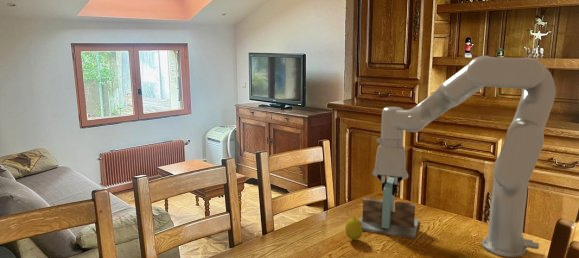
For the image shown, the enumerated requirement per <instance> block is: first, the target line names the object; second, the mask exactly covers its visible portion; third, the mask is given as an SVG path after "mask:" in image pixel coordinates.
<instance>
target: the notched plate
mask: <svg viewBox="0 0 579 258" xmlns="http://www.w3.org/2000/svg"><path fill="white" fill-rule="evenodd" d="M393 182H394V176H388V177H387V179H386V184H385V186H384V188H383V191H382V200H383V207H382V227H381V228H388V229H389V226H390V220H391V212H394V211H395V195H396V193H395V194H394V195H392V187H393Z"/></svg>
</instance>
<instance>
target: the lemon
mask: <svg viewBox="0 0 579 258" xmlns="http://www.w3.org/2000/svg"><path fill="white" fill-rule="evenodd" d="M359 220H360V219H359V218H357V217H352V218H350V219H348V220H347V222H346V224H345V234H346V236H347V237H348V238H349V239H351V240H352V241H355V240H357V239H360V238H361V237H362V234H363V231H362V224H361V222H360V221H359Z"/></svg>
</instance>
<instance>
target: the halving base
mask: <svg viewBox="0 0 579 258" xmlns="http://www.w3.org/2000/svg"><path fill="white" fill-rule="evenodd" d="M382 207H383V199H381V198H380V199H377V198H371V197H364V198H363V199H362V214H361V217H360V219H358V220H359V221H360V222H361V224H362V232H367V233H368V232H369V233H374V234H383V235H390V236H395V237H401V238H402V237H403V238H410V239H416V237H417V231H418V227H419V226H418V224H419V218H416V203H413V202H405V201H404V202H403V201H394V212H391V220H390V226H389V229H388V228H381V227H382Z"/></svg>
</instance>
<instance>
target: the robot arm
mask: <svg viewBox="0 0 579 258" xmlns="http://www.w3.org/2000/svg"><path fill="white" fill-rule="evenodd" d="M485 87H488V88H491V87H492V88H502V89H503V88H505V89H516V90H517V89H519V90H521V96H520V99H519V102H518V104H517V105H518V106H517V108H516V111H515V114H514V116H513V118H512V121H511V124H510V125H509V127H508V129H507V131H506V136H505V139H504V142H503V145H502V147H501V149H500V152H499V155H498V156H497V158H496V159H495V162H494V166H493V172H492V173H493V174H492V175H493V182H492V192H491V203H490V212H489V213H490V214H489V224H488V234H487V237H485V238H483V239H482V240H481V245H482V247H483V248H484V249H485V250H486V251H488V252H491V253H492V254H494V255H498V256H502V257H507V258H518V257H523V256H524V255H525V254H527V248H529V249H535V250H539V248H540V247H539V246H540V245H539V244H540V243H539V242H534V240H533V239H529V238H527V239H526V238H525V237H523V232H524V231H523V230H524V223H525V214H526V213H525V212H526V206H527V196H528V185H529V182H530V179H531V177H532V175H533V172H534V169H535V168H536V165H537V163H538V160H539V157H540V155H541V152H542V150H543V148H544V143H545V136H544V132H545V128H546V125H547V122H548V120H549V117H550V113H551V111H552V108H553V105H554V101H555V97H556V84H555V81H554V77H553V75H552V73H551V72H550V70H549V69H548V68H547V67H546V66H545V64H543V63H542V62H541V61H539V59H536V58H534V57H529V56H528V57H527V56H526V57H496V56H489V55H479V56H477V57H475V58H473V59H472V60H471V61H470V62H469V63H468V64H466V65H464V67H462V68H461V69H460V70H458V71H457V72H455V74H453V75H452V76H450V77H449V78H448V79H446V80H445V81H443V82H442V83H441V84H440V85H439V86H438V88H437V89H435V91H434V92H433V93H432V94H430V95H429V96H428V97H427V98H425V99H424V100H422V101H421V102H420V103H418V104H417V105H415V106H414V107H412V108H410V109H404V108H402V107H399V106H386V107H383V108H382V112H381V125H380V126H381V128H380V137H379V138H376V143H379V145H378V146H377V149H376V154H375V155H376V156H375V164H374V168H373V171H372V172H371V175H373V176H374V177H376V178H377V179H378V180H379V181H380V182H381V192H383V188H384V186H385V184H386V182H387V177H393V178H394V182H393V187H392V195H394V194H395V195H396V193H397V191H398V184H399V183H400V182H402V181H403V180H406V179H408V178H410V177H409V176H410V175H409V173H408V171H407V169H406V167H407V164H406V163H407V162H406V160H407V158H406V149H405V146H404V133H405V131H406V132H409V133H410V132H411V133H417V132H420V131H422V130H424V128H425V127H427V126H428V125H429V124H431V123H432V122H433V121H434V120H436V119H438V118H439V117H440V116H442V115H443V114H445V113H446V112H447V111H449V110H451V109H453V108H455V107H457V106H459V105H461V104H462V103H463V102H465V101H467V100H468V99H469V98H471V97H472V96H473V95H475V94H476V93H477V92H479V91H481V89H483V88H485ZM395 195H394V196H395Z"/></svg>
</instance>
